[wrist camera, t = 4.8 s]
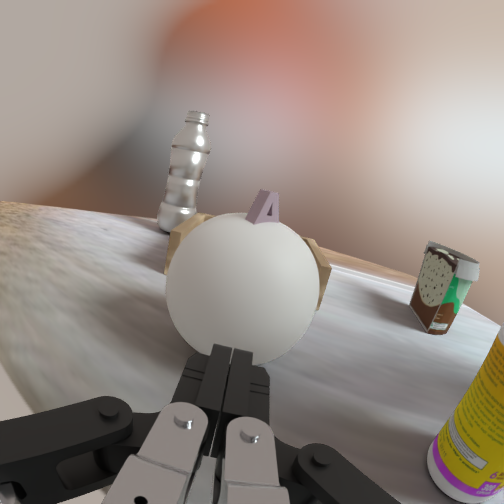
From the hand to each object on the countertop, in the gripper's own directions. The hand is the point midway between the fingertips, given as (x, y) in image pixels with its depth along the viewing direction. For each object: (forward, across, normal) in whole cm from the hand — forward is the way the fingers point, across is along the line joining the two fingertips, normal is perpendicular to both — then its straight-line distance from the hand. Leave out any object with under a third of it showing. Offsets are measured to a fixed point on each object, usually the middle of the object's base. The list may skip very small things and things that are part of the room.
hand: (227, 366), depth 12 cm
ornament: (+10, 0, +6) cm, 12 cm away
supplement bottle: (-1, -16, +6) cm, 17 cm away
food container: (+25, -27, +6) cm, 38 cm away
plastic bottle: (+40, +13, +6) cm, 43 cm away
